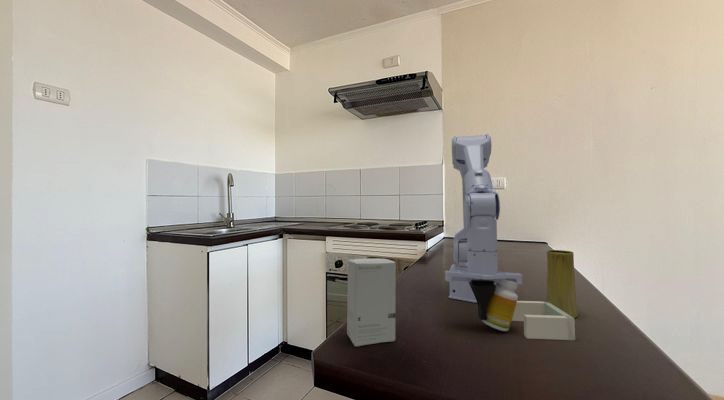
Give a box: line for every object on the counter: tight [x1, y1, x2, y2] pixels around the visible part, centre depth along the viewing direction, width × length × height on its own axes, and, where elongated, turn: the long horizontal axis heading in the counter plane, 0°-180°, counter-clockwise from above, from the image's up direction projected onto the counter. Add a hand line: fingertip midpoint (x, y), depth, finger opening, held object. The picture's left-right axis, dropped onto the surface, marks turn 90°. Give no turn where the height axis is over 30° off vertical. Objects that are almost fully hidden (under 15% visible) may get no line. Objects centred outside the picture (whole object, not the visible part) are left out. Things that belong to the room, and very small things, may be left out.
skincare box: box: [346, 257, 397, 348], centre depth 57 cm, size 8×6×15 cm
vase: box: [546, 249, 579, 319], centre depth 69 cm, size 6×6×14 cm
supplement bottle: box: [481, 279, 519, 332], centre depth 61 cm, size 5×5×10 cm
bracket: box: [511, 300, 576, 341], centre depth 60 cm, size 8×10×4 cm
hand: (483, 318), depth 60 cm, fingers closed, pressing on supplement bottle
